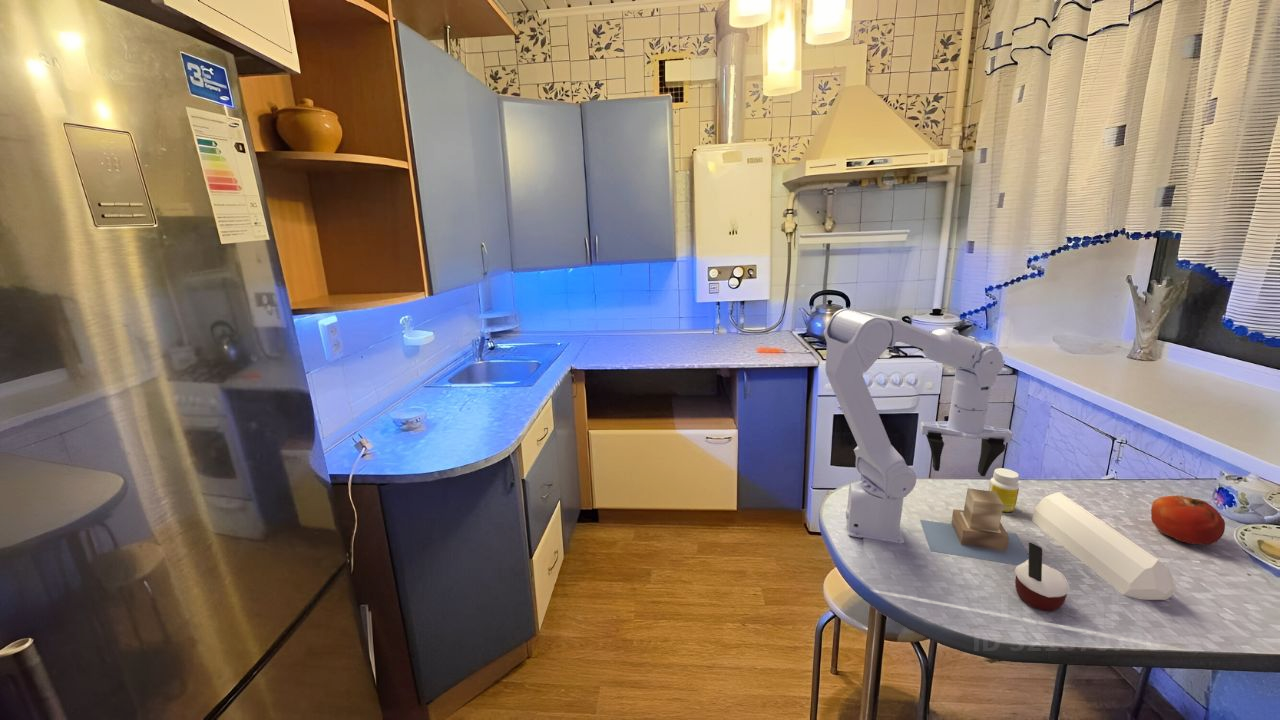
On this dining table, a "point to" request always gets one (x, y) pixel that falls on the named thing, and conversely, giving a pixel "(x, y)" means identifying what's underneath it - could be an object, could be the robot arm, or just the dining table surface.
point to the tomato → (1187, 519)
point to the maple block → (983, 509)
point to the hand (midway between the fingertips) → (958, 471)
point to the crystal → (1104, 549)
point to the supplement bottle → (1005, 488)
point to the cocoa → (1040, 582)
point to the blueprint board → (947, 542)
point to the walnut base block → (978, 534)
